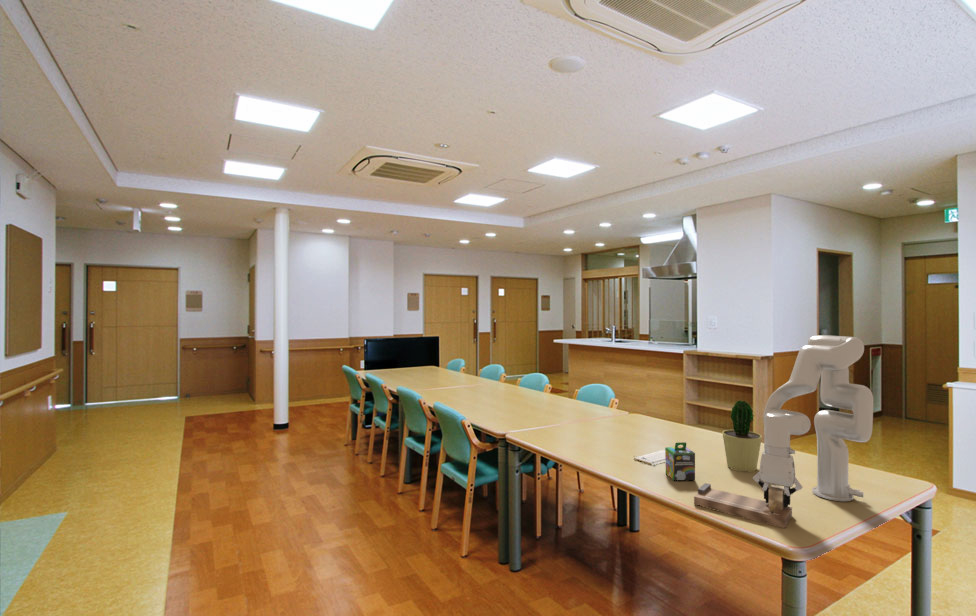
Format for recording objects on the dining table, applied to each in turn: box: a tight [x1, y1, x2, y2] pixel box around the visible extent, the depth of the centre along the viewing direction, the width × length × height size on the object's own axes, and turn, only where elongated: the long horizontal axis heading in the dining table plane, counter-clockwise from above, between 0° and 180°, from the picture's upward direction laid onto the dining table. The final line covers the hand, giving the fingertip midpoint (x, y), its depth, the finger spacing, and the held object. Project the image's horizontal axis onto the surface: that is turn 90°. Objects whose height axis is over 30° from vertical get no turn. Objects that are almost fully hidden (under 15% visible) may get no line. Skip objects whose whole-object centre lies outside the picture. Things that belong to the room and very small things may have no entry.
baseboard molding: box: [633, 449, 666, 466], centre depth 229 cm, size 31×3×12 cm
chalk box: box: [665, 441, 696, 482], centre depth 202 cm, size 9×9×15 cm
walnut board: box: [693, 482, 793, 529], centre depth 169 cm, size 28×12×4 cm, turn 49°
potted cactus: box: [722, 400, 763, 473], centre depth 214 cm, size 15×15×30 cm
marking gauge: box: [768, 484, 785, 513], centre depth 163 cm, size 4×12×8 cm, turn 139°
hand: (776, 503), depth 165 cm, fingers open, 4 cm apart
